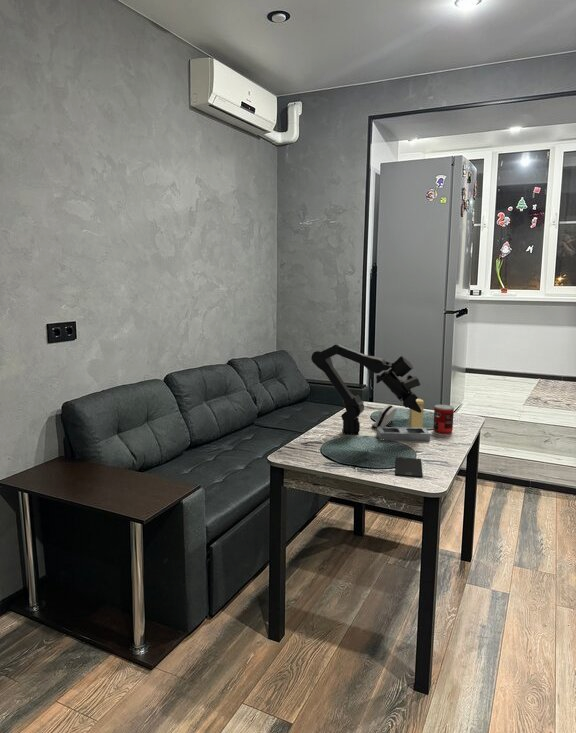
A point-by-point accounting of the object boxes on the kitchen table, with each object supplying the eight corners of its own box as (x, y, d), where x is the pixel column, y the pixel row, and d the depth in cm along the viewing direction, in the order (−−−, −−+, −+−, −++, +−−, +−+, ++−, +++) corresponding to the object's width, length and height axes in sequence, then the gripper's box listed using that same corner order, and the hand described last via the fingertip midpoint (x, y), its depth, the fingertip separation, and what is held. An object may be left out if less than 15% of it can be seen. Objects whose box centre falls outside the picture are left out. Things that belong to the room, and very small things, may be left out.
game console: (381, 419, 249) (389, 400, 246) (391, 423, 247) (399, 404, 244) (370, 427, 234) (378, 407, 231) (380, 432, 232) (388, 412, 229)
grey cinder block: (380, 440, 216) (380, 433, 215) (376, 434, 225) (377, 427, 224) (429, 441, 216) (430, 433, 215) (424, 434, 224) (425, 427, 224)
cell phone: (395, 476, 177) (395, 473, 177) (395, 459, 194) (396, 456, 194) (422, 479, 175) (422, 476, 175) (420, 461, 193) (421, 458, 192)
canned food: (433, 428, 235) (435, 403, 233) (452, 430, 232) (454, 405, 230) (432, 432, 227) (433, 407, 226) (452, 434, 225) (453, 409, 223)
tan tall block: (410, 427, 217) (412, 401, 215) (408, 424, 222) (410, 398, 220) (422, 427, 217) (423, 401, 215) (419, 424, 222) (421, 398, 220)
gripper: (413, 373, 206) (440, 402, 208) (404, 366, 225) (428, 392, 226) (392, 393, 208) (419, 421, 209) (384, 384, 226) (409, 410, 228)
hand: (419, 410), depth 218 cm, fingers closed on tan tall block, 4 cm apart
